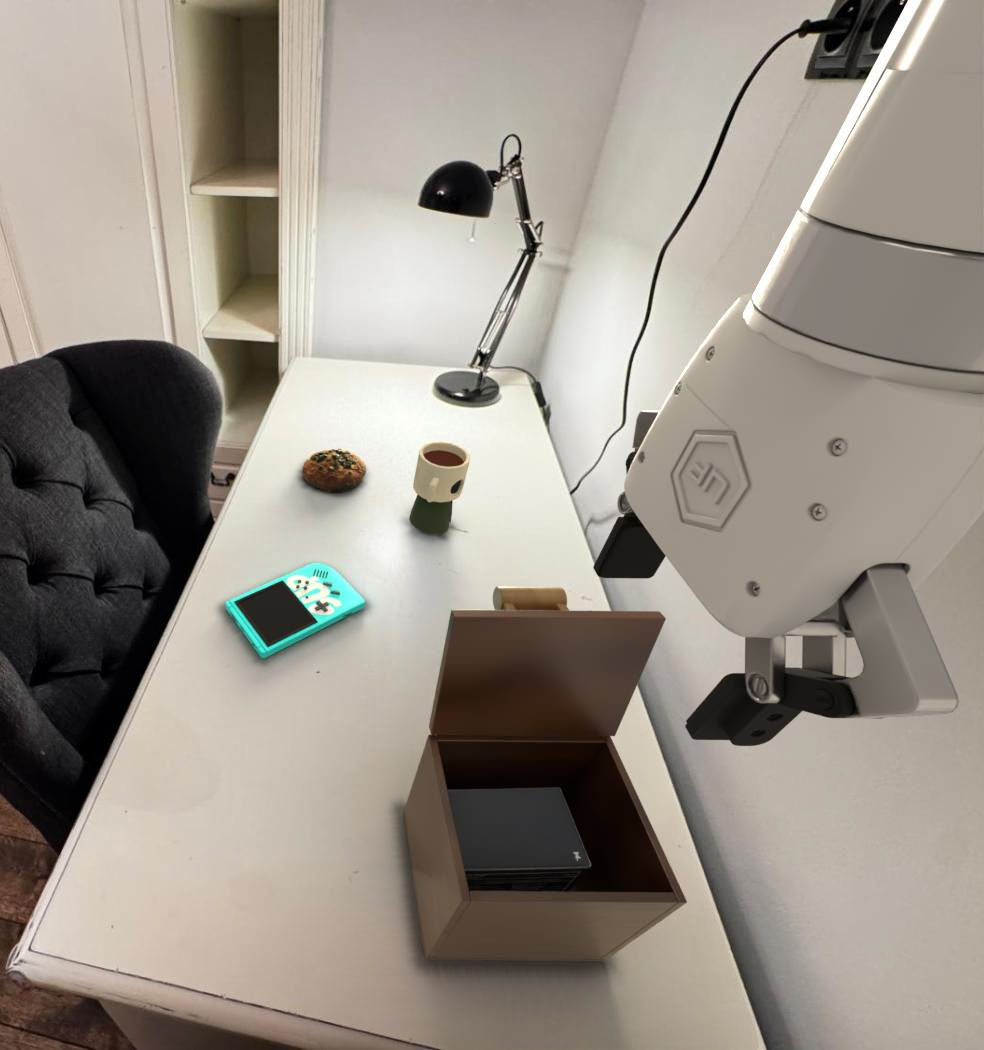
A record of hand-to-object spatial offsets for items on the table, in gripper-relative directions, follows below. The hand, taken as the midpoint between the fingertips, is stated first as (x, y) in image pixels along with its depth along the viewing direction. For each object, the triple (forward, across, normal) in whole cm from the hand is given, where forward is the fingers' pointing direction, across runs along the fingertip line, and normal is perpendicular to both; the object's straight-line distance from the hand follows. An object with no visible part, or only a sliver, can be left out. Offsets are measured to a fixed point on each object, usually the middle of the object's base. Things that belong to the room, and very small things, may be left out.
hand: (665, 643), depth 28 cm
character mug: (+34, -50, +3) cm, 61 cm away
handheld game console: (+34, -32, -18) cm, 50 cm away
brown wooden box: (+34, 0, 0) cm, 34 cm away
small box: (+34, -1, -1) cm, 34 cm away
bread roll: (+34, -63, -11) cm, 73 cm away
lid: (+13, -7, 0) cm, 15 cm away
